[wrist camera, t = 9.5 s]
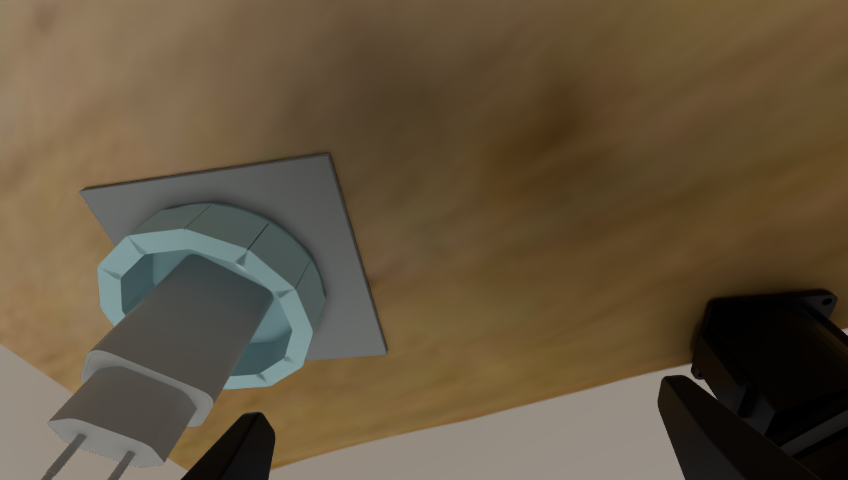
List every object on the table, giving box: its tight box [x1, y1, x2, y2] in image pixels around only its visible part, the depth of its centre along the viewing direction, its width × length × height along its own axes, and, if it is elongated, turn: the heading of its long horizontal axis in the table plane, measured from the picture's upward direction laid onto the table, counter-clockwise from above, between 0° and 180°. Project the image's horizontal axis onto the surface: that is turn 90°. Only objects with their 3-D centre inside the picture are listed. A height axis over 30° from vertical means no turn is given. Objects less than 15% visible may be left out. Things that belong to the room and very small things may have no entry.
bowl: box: [97, 202, 326, 389], centre depth 23 cm, size 11×11×3 cm
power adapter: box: [41, 254, 274, 480], centre depth 18 cm, size 3×5×12 cm, turn 57°
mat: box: [79, 153, 388, 361], centre depth 24 cm, size 14×14×1 cm
